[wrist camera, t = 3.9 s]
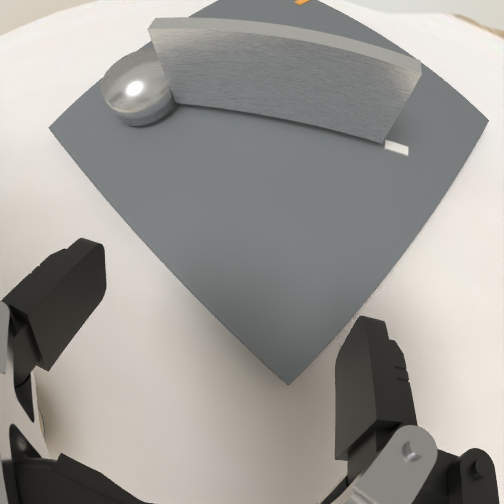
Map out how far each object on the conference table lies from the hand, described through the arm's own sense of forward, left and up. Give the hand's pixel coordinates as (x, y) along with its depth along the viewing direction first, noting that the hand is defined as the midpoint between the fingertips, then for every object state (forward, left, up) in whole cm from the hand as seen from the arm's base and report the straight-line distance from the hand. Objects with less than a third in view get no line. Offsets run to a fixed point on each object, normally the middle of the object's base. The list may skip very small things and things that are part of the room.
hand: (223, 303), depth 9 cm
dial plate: (+14, +10, -13) cm, 21 cm away
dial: (+11, +11, -10) cm, 18 cm away
